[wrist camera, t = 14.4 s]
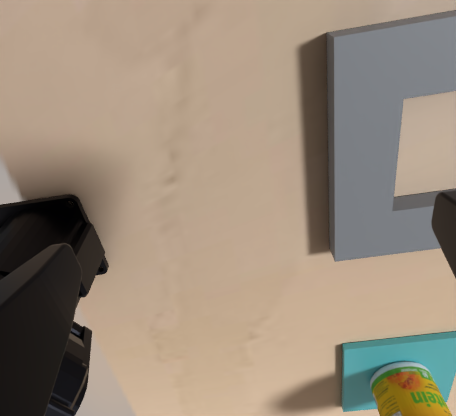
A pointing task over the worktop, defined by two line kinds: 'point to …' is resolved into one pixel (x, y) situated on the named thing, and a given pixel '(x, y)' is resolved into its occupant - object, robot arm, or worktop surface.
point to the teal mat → (392, 353)
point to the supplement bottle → (407, 391)
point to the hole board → (381, 130)
